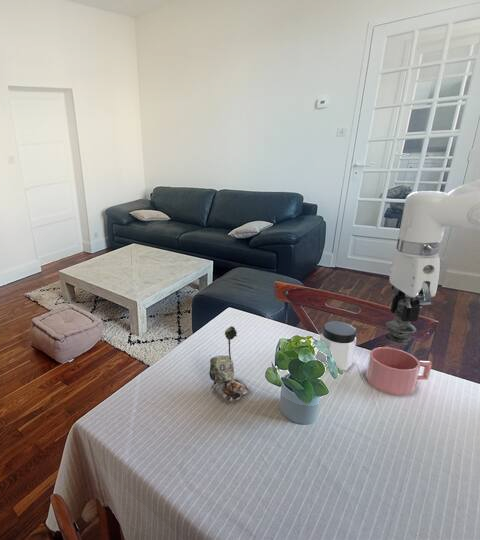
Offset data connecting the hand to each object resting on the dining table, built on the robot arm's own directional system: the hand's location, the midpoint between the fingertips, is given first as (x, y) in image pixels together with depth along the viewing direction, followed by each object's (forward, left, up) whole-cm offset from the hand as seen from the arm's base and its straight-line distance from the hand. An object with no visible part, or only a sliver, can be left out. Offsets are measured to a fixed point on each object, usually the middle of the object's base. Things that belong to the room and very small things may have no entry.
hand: (403, 315), depth 84 cm
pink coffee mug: (-2, 0, -21) cm, 21 cm away
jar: (+10, -9, -21) cm, 25 cm away
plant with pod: (+43, +5, -21) cm, 48 cm away
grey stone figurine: (0, 0, -7) cm, 7 cm away
